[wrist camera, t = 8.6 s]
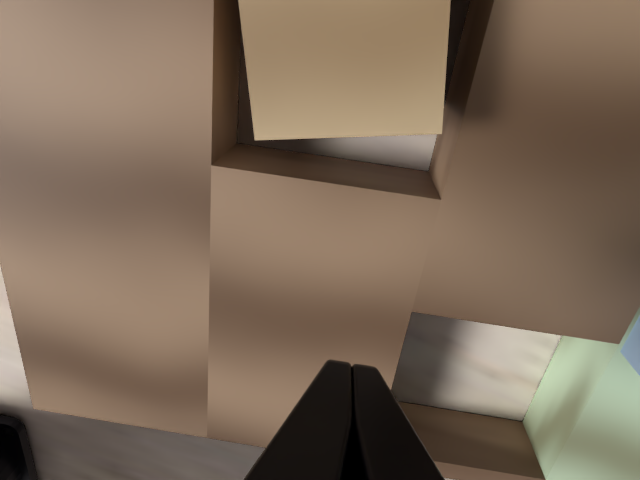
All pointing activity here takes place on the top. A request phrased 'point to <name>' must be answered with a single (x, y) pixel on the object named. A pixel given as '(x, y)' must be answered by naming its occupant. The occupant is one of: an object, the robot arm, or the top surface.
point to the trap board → (320, 229)
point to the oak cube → (345, 67)
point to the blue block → (633, 347)
